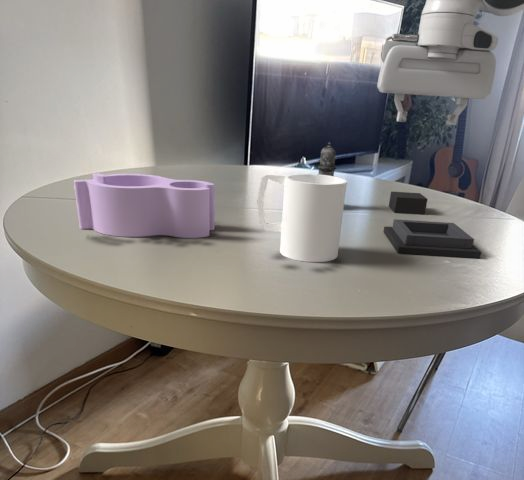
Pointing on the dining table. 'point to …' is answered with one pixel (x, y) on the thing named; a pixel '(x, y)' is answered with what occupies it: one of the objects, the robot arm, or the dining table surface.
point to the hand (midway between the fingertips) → (425, 123)
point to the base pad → (431, 239)
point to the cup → (307, 215)
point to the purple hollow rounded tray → (145, 205)
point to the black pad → (407, 202)
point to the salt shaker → (327, 161)
